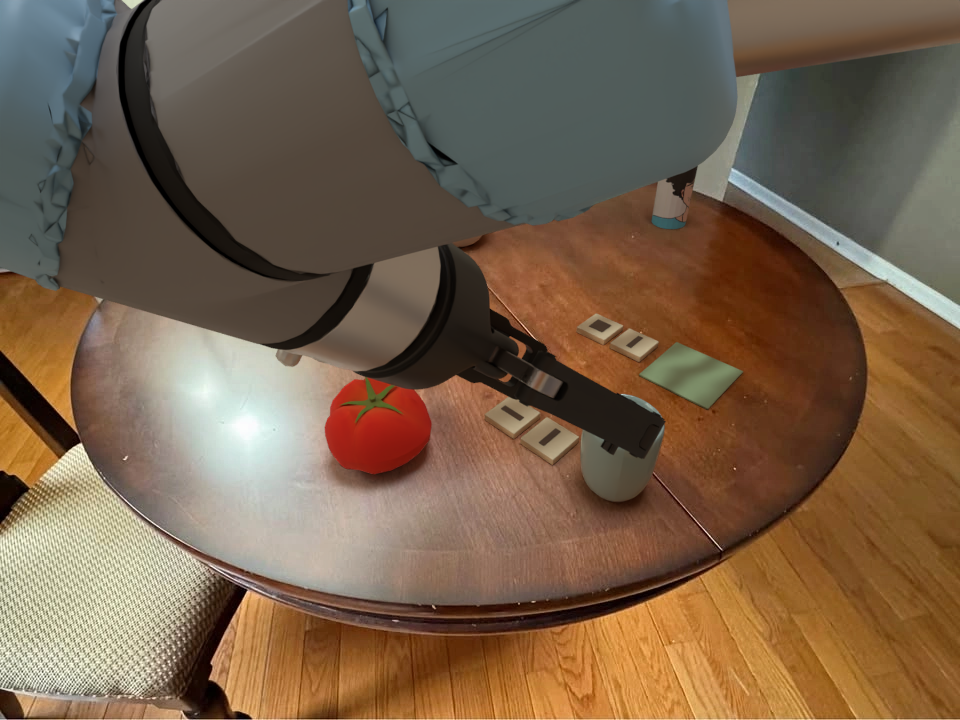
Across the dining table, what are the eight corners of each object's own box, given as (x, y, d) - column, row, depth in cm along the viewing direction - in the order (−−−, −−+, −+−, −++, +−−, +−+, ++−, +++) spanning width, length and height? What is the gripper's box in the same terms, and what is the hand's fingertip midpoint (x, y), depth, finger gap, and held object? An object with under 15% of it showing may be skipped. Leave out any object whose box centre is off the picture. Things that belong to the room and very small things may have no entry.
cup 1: (664, 490, 61) (681, 425, 54) (612, 525, 57) (625, 460, 51) (612, 447, 66) (623, 383, 60) (562, 477, 62) (568, 413, 56)
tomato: (414, 499, 61) (405, 445, 56) (313, 477, 64) (295, 424, 58) (450, 419, 70) (445, 367, 65) (360, 403, 73) (349, 352, 68)
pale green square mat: (742, 372, 76) (745, 366, 75) (707, 410, 70) (709, 403, 70) (604, 311, 88) (605, 305, 88) (565, 339, 83) (566, 333, 82)
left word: (578, 442, 67) (579, 435, 66) (552, 465, 64) (553, 459, 63) (511, 400, 73) (511, 393, 72) (484, 419, 70) (484, 413, 69)
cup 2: (683, 231, 110) (699, 154, 100) (648, 226, 112) (661, 151, 103) (687, 217, 115) (703, 143, 105) (654, 213, 117) (666, 140, 107)
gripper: (219, 274, 32) (432, 359, 50) (556, 530, 18) (689, 522, 36) (278, 158, 32) (472, 285, 49) (670, 329, 18) (747, 421, 35)
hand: (563, 385), depth 43 cm, fingers open, 13 cm apart
